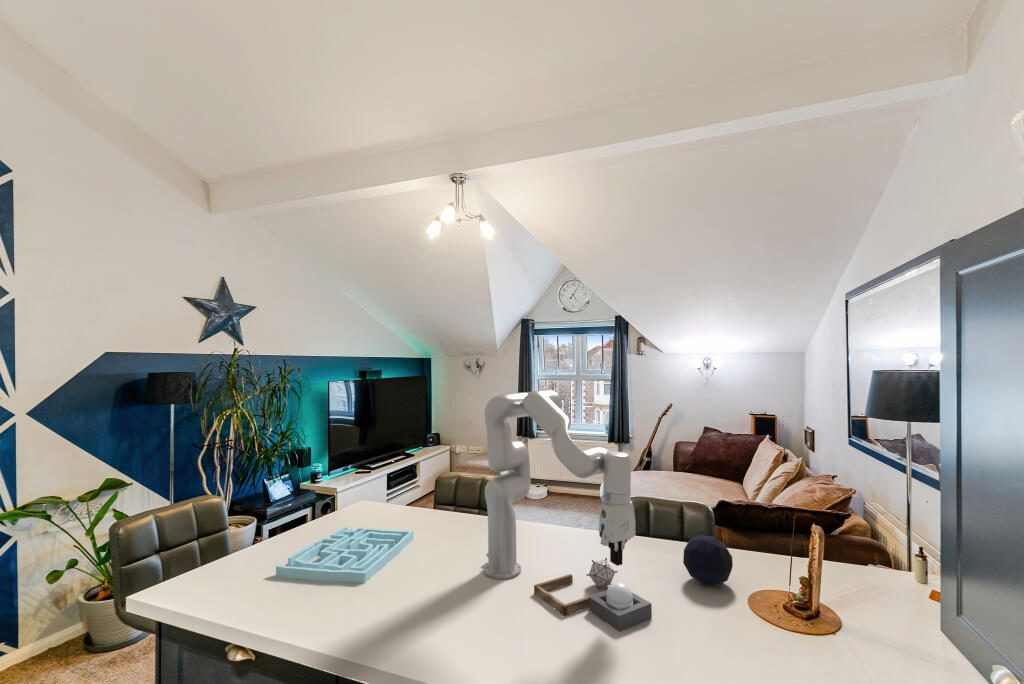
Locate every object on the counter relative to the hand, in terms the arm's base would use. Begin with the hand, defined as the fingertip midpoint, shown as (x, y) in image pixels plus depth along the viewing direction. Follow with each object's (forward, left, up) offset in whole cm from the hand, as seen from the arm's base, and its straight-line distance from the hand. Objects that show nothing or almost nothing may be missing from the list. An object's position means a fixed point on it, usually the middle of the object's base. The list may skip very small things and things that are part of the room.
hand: (616, 563), depth 129 cm
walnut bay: (-14, -6, -14) cm, 21 cm away
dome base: (+1, 0, -14) cm, 14 cm away
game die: (-14, +7, -14) cm, 21 cm away
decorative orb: (+2, +37, -14) cm, 40 cm away
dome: (+1, 0, -13) cm, 13 cm away
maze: (-81, -55, -15) cm, 99 cm away
